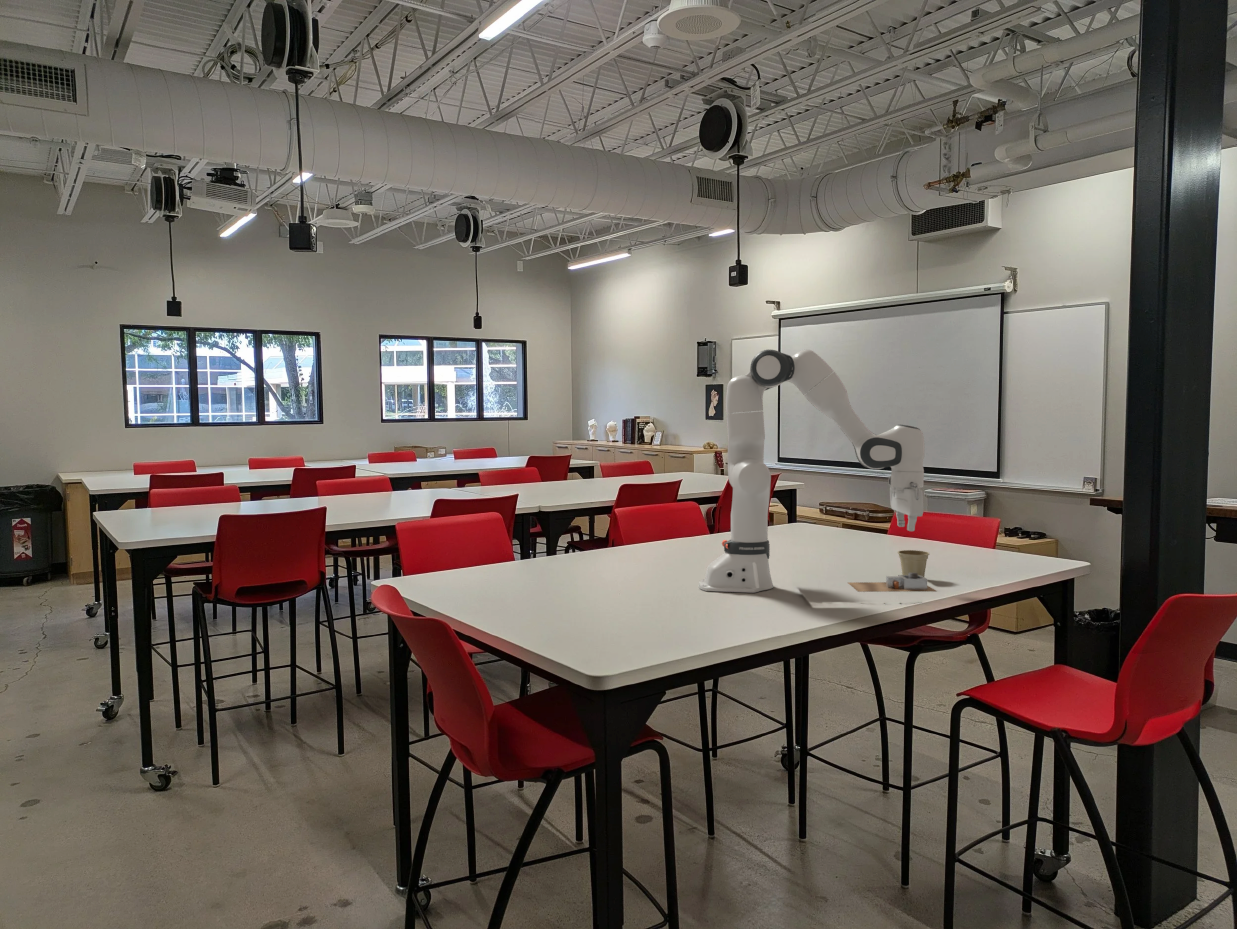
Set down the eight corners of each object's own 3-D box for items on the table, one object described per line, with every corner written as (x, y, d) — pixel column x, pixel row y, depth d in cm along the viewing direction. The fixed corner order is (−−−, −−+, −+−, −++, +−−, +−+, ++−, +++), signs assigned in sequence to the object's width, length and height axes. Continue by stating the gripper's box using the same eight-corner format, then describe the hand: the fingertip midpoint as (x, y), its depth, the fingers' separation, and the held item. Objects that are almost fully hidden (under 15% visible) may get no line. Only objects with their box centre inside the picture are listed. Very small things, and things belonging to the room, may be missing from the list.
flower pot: (932, 583, 248) (932, 555, 248) (900, 582, 250) (900, 554, 249) (925, 577, 257) (926, 550, 257) (895, 576, 259) (895, 549, 258)
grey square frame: (920, 585, 238) (920, 574, 238) (927, 589, 231) (927, 579, 231) (884, 585, 239) (884, 575, 238) (890, 589, 232) (890, 579, 232)
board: (858, 596, 230) (858, 577, 230) (847, 587, 243) (847, 568, 243) (936, 596, 229) (937, 576, 229) (922, 587, 242) (922, 568, 242)
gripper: (930, 484, 224) (928, 533, 225) (907, 478, 244) (906, 524, 245) (906, 483, 224) (905, 533, 225) (886, 478, 245) (885, 524, 245)
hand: (905, 528), depth 235 cm, fingers open, 8 cm apart
